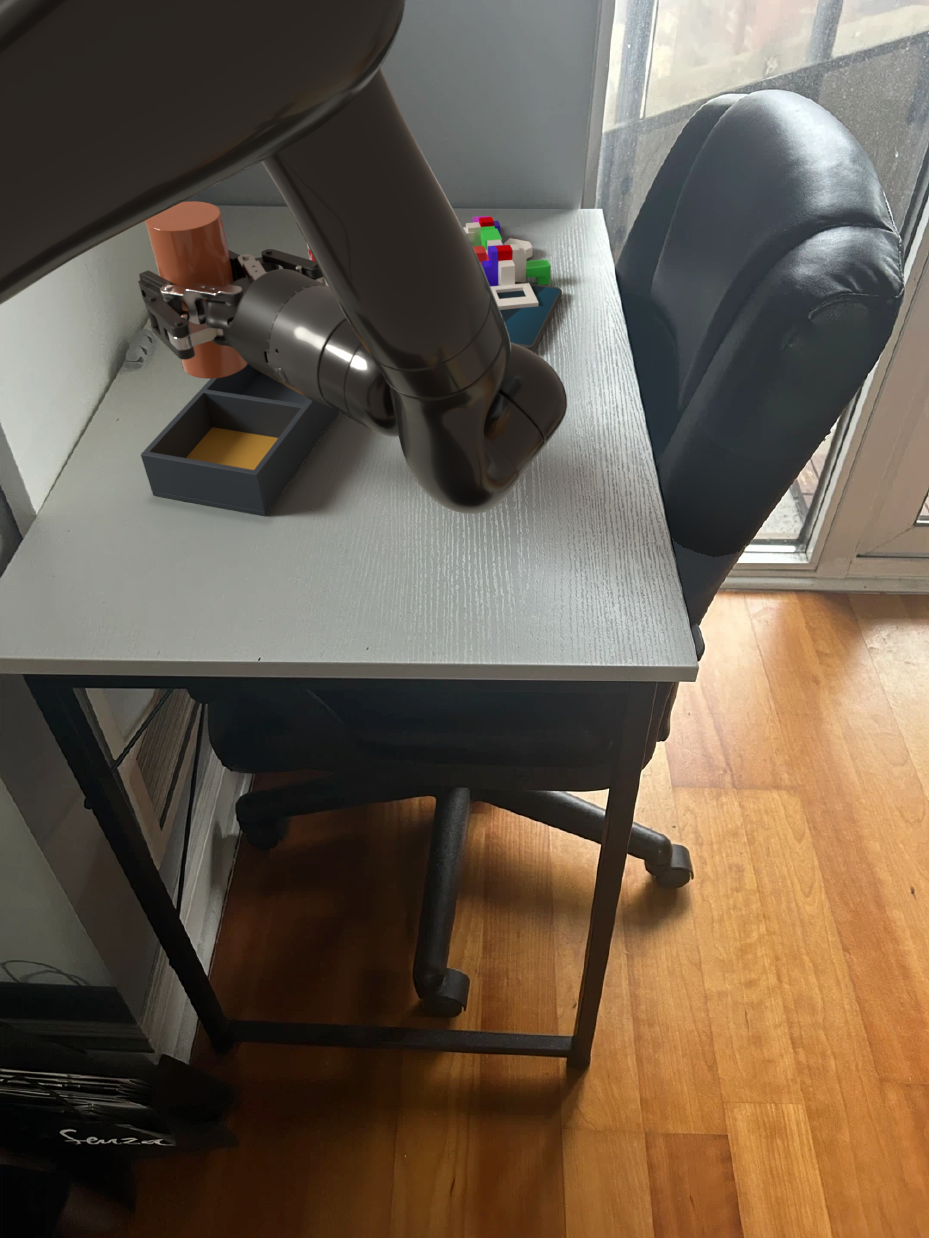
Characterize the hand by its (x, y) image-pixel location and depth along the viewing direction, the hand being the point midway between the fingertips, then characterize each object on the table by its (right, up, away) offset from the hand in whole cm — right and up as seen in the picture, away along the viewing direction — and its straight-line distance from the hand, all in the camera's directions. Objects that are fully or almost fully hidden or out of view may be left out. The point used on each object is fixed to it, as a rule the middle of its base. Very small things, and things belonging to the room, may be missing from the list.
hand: (179, 271), depth 75 cm
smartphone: (+29, +6, +33) cm, 44 cm away
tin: (+2, -6, +4) cm, 7 cm away
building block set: (+22, +15, +42) cm, 49 cm away
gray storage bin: (+4, -7, +20) cm, 22 cm away
